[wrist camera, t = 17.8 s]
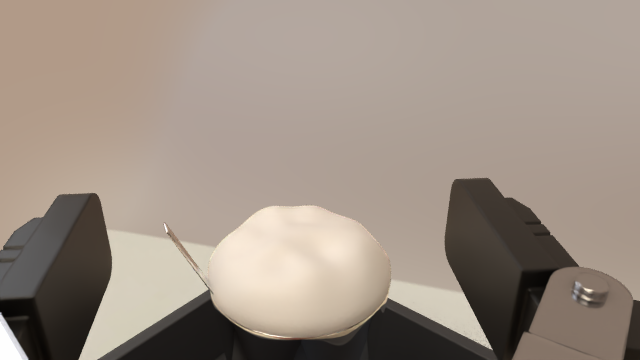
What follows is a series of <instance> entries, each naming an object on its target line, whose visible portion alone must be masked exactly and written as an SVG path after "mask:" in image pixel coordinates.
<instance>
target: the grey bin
mask: <svg viewBox="0 0 640 360" xmlns="http://www.w3.org/2000/svg"><path fill="white" fill-rule="evenodd" d="M98 360H226V356H225V352H224V348H223V344H222V340H221V336H220V332H219V328H218V323H217V319H216V315H215V311H214V307H213V303H212V299H211V294H210V290H207V291H206V292H204V293H203V294H201V295H199V296H198V297H196V298H195V299H193V300H191V301H190V302H188V303H187V304H185V305H184V306H182V307H180V308H179V309H177V310H176V311H174V312H172V313H171V314H169V315H168V316H166V317H164V318H163V319H161V320H160V321H158V322H157V323H155V324H153V325H152V326H150V327H149V328H147V329H145V330H144V331H142V332H141V333H139V334H138V335H136V336H134V337H133V338H131V339H130V340H128V341H126V342H125V343H123V344H122V345H120V346H118V347H117V348H115V349H114V350H112V351H111V352H109V353H107V354H106V355H104V356H103V357H101V358H99V359H98ZM375 360H498V359H497V357H496V355H495V353H494V351H493V350H491V349H489V348H487V347H485V346H483V345H481V344H479V343H477V342H475V341H473V340H471V339H469V338H467V337H465V336H463V335H461V334H459V333H457V332H455V331H453V330H451V329H449V328H447V327H445V326H443V325H441V324H439V323H437V322H435V321H433V320H431V319H429V318H427V317H425V316H423V315H421V314H419V313H417V312H415V311H413V310H411V309H409V308H407V307H405V306H403V305H401V304H399V303H397V302H395V301H393V300H391V299H389V298H387V303H386V307H385V312H384V317H383V322H382V327H381V331H380V336H379V341H378V346H377V351H376V356H375Z"/></svg>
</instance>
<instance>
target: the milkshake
mask: <svg viewBox="0 0 640 360" xmlns="http://www.w3.org/2000/svg"><path fill="white" fill-rule="evenodd" d="M163 225H164V228H165V231H166V233H167V234H168V236H169V237H170V238H171V240H172V241H173V242H174V244H175V245H176V246H177V248H178V249H179V250H180V252H181V253H182V254H183V256H184V257H185V258H186V259H187V261H188V262H189V263H190V265H191V266H192V267H193V269H194V270H195V271H196V273H197V274H198V275H199V277H200V278H201V279H202V281H203V282H204V283H205V285H206V286H207V287H208V289H209V290H210V294H211V299H212V303H213V307H214V311H215V315H216V319H217V323H218V328H219V332H220V336H221V340H222V344H223V348H224V352H225V356H226V360H375V356H376V351H377V346H378V341H379V336H380V331H381V327H382V322H383V317H384V312H385V307H386V303H387V298H388V293H389V287H390V282H391V265H390V261H389V258H388V256H387V254H386V252H385V251H384V249H383V248H382V247H381V245H380V244H379V243H378V242H377V241H376V240H375V238H374V237H373V236H372V235H371V234H370V233H369V232H368V231H367V230H366V229H365V228H364V227H363V226H362V225H361V224H360V223H359V222H357V221H355V220H353V219H350V218H347V217H344V216H340V215H337V214H334V213H332V212H330V211H328V210H326V209H324V208H321V207H318V206H313V205H306V206H298V207H284V206H270V207H266V208H264V209H262V210H259V211H258V212H256V213H255V214H253V215H252V216H251V217H250V218H249V219H248V220H246V221H245V222H244V223H243V224H242V225H241V226H240V227H238V228H237V229H236V230H235V231H233V232H232V233H230V234H229V235H228V236H227V237H225V238H224V239H223V240H222V241H221V242H220V243H219V244H218V246H217V247H216V249H215V250H214V252H213V254H212V256H211V258H210V261H209V265H208V279H207V278H206V277H205V275H204V274H203V272H202V271H201V270H200V268H199V267H198V266H197V264H196V263H195V262H194V260H193V259H192V258H191V256H190V255H189V254H188V252H187V251H186V250H185V248H184V247H183V246H182V244H181V243H180V242H179V240H178V239H177V238H176V236H175V235H174V234H173V232H172V231H171V230H170V228H169V227H168V226H167V224H166V223H163Z"/></svg>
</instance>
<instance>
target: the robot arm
mask: <svg viewBox="0 0 640 360" xmlns="http://www.w3.org/2000/svg"><path fill="white" fill-rule="evenodd" d="M445 251H446V256H447V260H448V262H449V265H450V267H451V268H452V270H453V272H454V274H455V276H456V278H457V280H458V282H459V284H460V286H461V288H462V290H463V292H464V294H465V296H466V298H467V300H468V302H469V304H470V306H471V308H472V310H473V312H474V314H475V316H476V318H477V320H478V322H479V324H480V326H481V328H482V330H483V332H484V333H485V335H486V337H487V339H488V341H489V343H490V345H491V347H492V349H493V351H494V353H495V355H496V357H497V359H498V360H640V301H637V300H633V297H632V295H631V293H630V292H629V290H628V289H627V288H626V287H625V286H624V285H623V284H622V283H621V282H619V281H618V280H616V279H614V278H613V277H611V276H609V275H607V274H605V273H603V272H599V271H597V270H593V269H589V268H583V267H579V266H578V264H577V263H576V262H575V261H574V260H573V259H572V257H571V256H570V255H569V254H568V253H567V252H566V250H565V249H564V248H563V247H562V246H561V245H560V243H559V242H558V241H557V240H556V239H555V238H554V237H553V235H550V232H549V231H548V230H547V228H546V227H545V226H544V225H543V224H541V221H540V220H539V219H538V218H537V216H536V215H535V214H534V213H533V212H532V211H531V209H530V208H528V207H526V206H525V205H523V204H521V203H520V202H518V201H516V200H514V199H513V198H504V197H503V195H502V194H501V193H500V192H499V190H498V189H497V188H496V187H495V185H494V184H493V183H492V182H491V180H490V179H488V178H473V179H456V180H454V182H453V184H452V188H451V194H450V201H449V209H448V217H447V224H446V232H445ZM111 270H112V256H111V249H110V245H109V240H108V235H107V230H106V225H105V221H104V216H103V212H102V207H101V202H100V199H99V197H98V195H97V194H95V193H87V194H62V195H59V196H57V198H56V199H55V201H54V202H53V204H52V205H51V207H50V208H49V210H48V211H47V212H46V214H45V216H44V217H42V218H33V219H32V220H30V221H29V222H27V223H26V224H24V225H23V226H22V227H20V228H19V229H17V230H16V231H14V233H13V234H12V235H11V237H10V238H9V240H8V241H7V242H6V244H5V245H4V246H3V250H1V251H0V360H78V359H79V357H80V354H81V352H82V349H83V347H84V344H85V342H86V339H87V336H88V334H89V331H90V329H91V326H92V324H93V321H94V319H95V316H96V314H97V311H98V308H99V306H100V303H101V301H102V298H103V296H104V293H105V291H106V288H107V285H108V283H109V280H110V277H111Z"/></svg>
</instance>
